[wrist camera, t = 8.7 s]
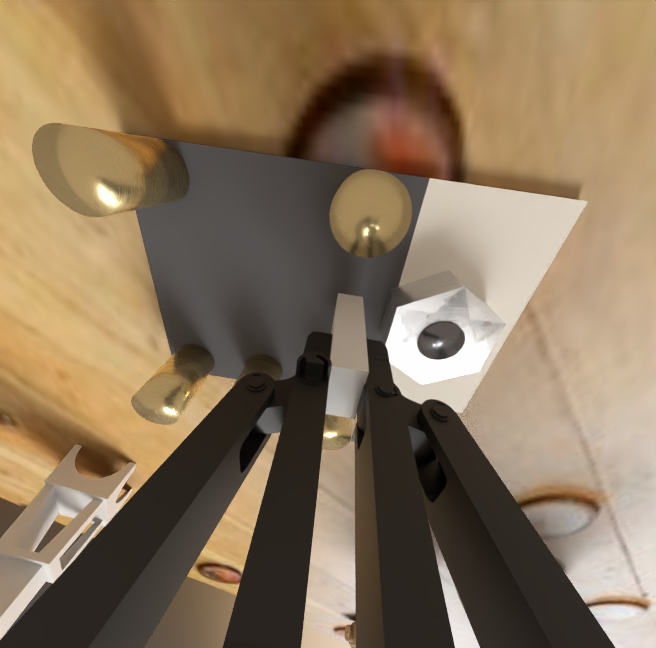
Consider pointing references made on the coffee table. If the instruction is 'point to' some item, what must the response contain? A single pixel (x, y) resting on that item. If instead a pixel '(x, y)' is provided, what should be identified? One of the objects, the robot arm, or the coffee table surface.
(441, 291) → the nut
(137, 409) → the spacers
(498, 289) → the mat
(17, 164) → the coffee table surface
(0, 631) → the sculpture
